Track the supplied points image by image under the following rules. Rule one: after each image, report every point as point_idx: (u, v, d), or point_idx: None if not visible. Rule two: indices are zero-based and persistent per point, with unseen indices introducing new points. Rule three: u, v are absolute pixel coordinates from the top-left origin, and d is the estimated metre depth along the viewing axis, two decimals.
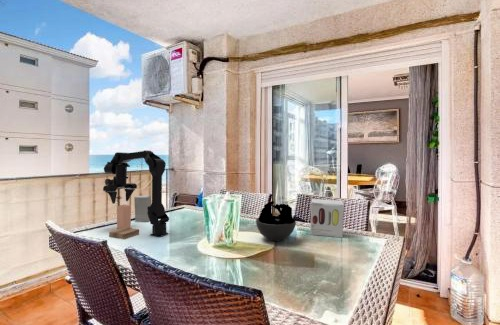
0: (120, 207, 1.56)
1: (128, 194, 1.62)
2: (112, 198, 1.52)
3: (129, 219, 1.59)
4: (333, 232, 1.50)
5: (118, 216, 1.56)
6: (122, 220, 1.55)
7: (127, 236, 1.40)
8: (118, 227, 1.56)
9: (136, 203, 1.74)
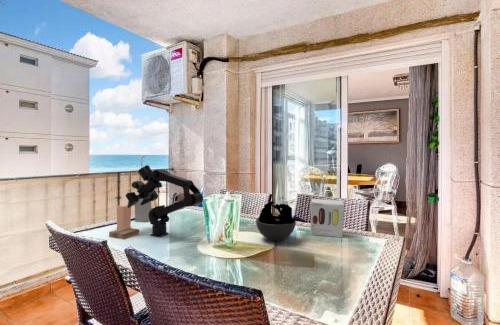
0: (120, 207, 1.56)
1: (145, 201, 1.58)
2: (129, 204, 1.49)
3: (129, 219, 1.59)
4: (333, 232, 1.50)
5: (118, 216, 1.56)
6: (122, 220, 1.55)
7: (127, 236, 1.40)
8: (118, 227, 1.56)
9: None
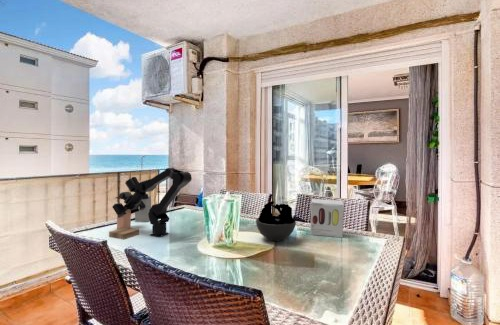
0: None
1: None
2: None
3: (129, 219, 1.59)
4: (333, 232, 1.50)
5: None
6: (122, 220, 1.55)
7: (127, 236, 1.40)
8: (118, 227, 1.57)
9: None
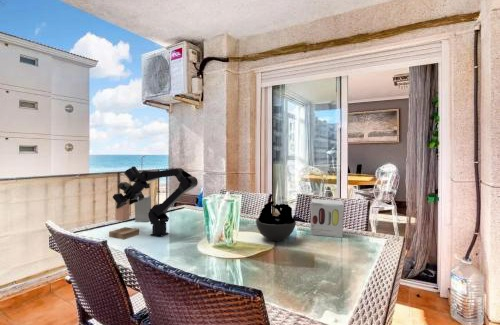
0: None
1: (129, 202, 1.56)
2: (118, 205, 1.50)
3: (128, 210, 1.55)
4: (333, 232, 1.50)
5: None
6: (121, 211, 1.51)
7: (127, 236, 1.40)
8: (117, 218, 1.52)
9: (136, 203, 1.74)
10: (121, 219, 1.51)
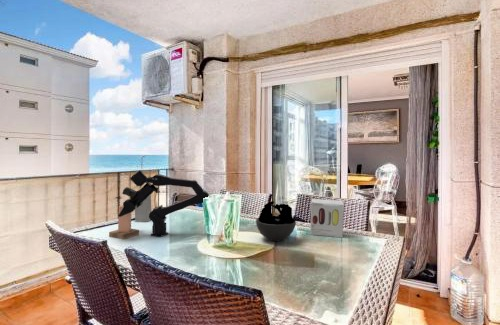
0: None
1: None
2: (123, 212, 1.39)
3: (130, 220, 1.47)
4: (333, 232, 1.50)
5: (120, 217, 1.42)
6: (127, 221, 1.43)
7: (127, 236, 1.40)
8: (120, 230, 1.42)
9: None
10: (126, 230, 1.43)
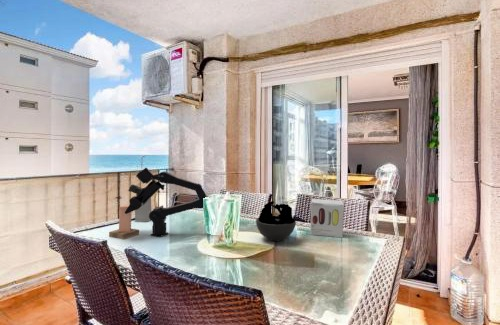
0: (125, 208, 1.42)
1: None
2: (129, 209, 1.39)
3: None
4: (333, 232, 1.50)
5: (121, 218, 1.42)
6: (128, 221, 1.42)
7: (127, 236, 1.40)
8: (121, 230, 1.42)
9: None
10: (127, 230, 1.43)
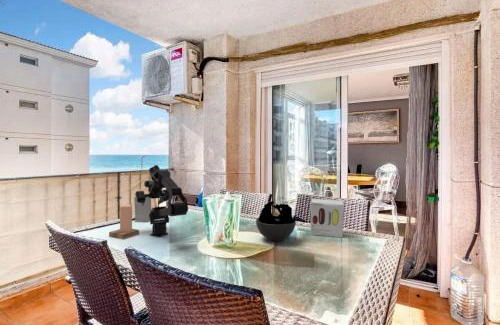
0: (125, 207, 1.42)
1: (160, 200, 1.59)
2: None
3: (131, 219, 1.47)
4: (333, 232, 1.50)
5: (122, 218, 1.42)
6: (129, 221, 1.43)
7: (127, 236, 1.40)
8: (122, 230, 1.42)
9: (136, 203, 1.74)
10: (128, 230, 1.43)
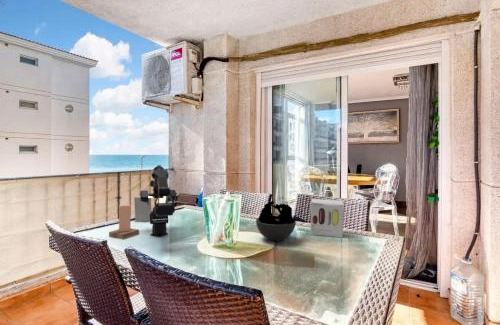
0: (124, 207, 1.43)
1: (166, 200, 1.60)
2: None
3: (130, 219, 1.47)
4: (333, 232, 1.50)
5: (121, 217, 1.42)
6: (128, 220, 1.43)
7: (127, 236, 1.40)
8: (121, 229, 1.42)
9: (136, 203, 1.74)
10: (127, 229, 1.43)
